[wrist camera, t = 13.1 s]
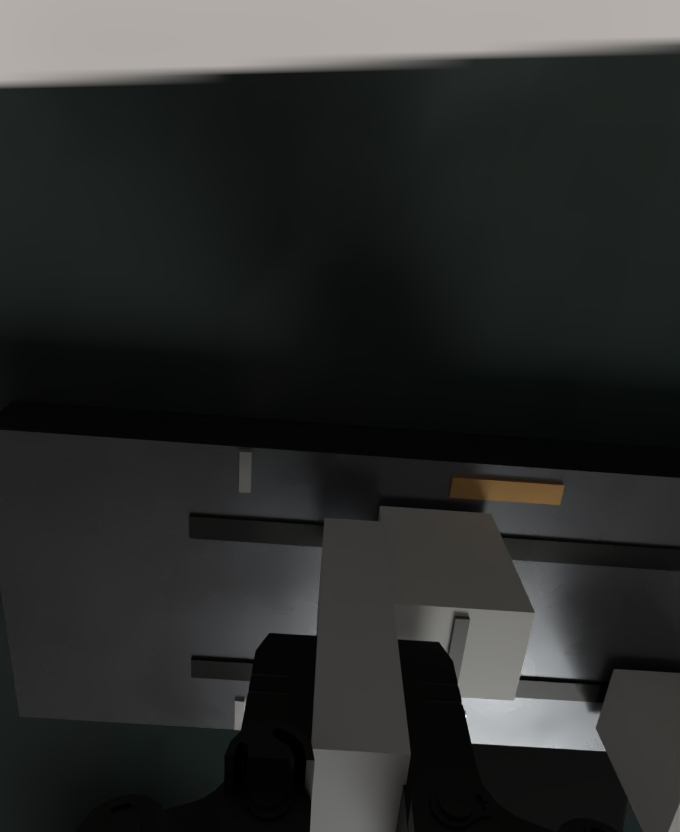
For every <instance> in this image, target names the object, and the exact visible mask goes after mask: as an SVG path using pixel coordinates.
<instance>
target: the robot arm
mask: <svg viewBox="0 0 680 832" xmlns="http://www.w3.org/2000/svg"><path fill="white" fill-rule="evenodd" d="M76 832H555V831H553V830H550V829H547V828H545V827H542V826H539V825H537V824H534V823H531V822H529V821H526V820H524V819H522V818H520V817H518V816H516V815H513V814H511V813H510V812H509V811H507V810H506V809H505V808H503V807H502V806H500V805H499V804H498V803H497V802H496V801H495V800H494V799H493V798H492V796H491V794H490V793H489V792H488V791H487V789H486V788H485V787H484V785H483V783H482V781H481V779H480V776H479V773H478V770H477V765H476V761H475V757H474V752H473V748H472V743H471V739H470V734H469V730H468V725H467V721H466V716H465V712H464V708H463V705H462V699H461V694H460V690H459V687H458V681H457V676H456V672H455V668H454V663H453V660H452V659H451V658H450V656H449V655H448V653H447V652H446V651H445V649H444V648H443V647H442V645H441V644H440V643H439V642H434V641H418V640H402V639H397V631H396V622H395V613H394V605H393V596H392V587H391V579H390V570H389V562H388V553H387V544H386V536H385V527H384V522H379V521H364V520H350V519H335V518H324V530H323V544H322V557H321V571H320V584H319V598H318V612H317V629H316V636H313V635H297V634H281V633H269V634H268V635H267V636H266V638H265V639H264V640H263V641H262V643H261V644H260V645H259V647H258V648H257V649H256V651H255V657H254V662H253V668H252V675H251V678H250V684H249V690H248V695H247V700H246V706H245V711H244V716H243V722H242V727H241V731H240V732H239V733H238V734H237V735H236V736H235V737H234V738H233V739H232V740H231V742H230V744H229V747H228V749H227V751H226V753H225V779H224V782H223V783H222V784H221V785H220V786H219V787H218V788H217V789H216V790H215V791H213V792H212V793H210V794H209V795H207V796H206V797H204V798H202V799H199V800H197V801H194V802H191V803H188V804H184V805H180V806H177V807H173V808H169V809H166V810H164V809H163V808H162V806H161V805H160V803H158V802H156V801H154V800H153V799H151V798H149V797H147V796H141V795H131V794H129V795H125V796H121V797H117V798H113V799H110V800H109V801H107V802H105V803H104V804H102V805H100V806H99V807H97V808H96V809H94V810H93V811H92V812H91V813H90V814H89V815H88V817H87V818H86V819H85V820H84V821H83V822H82V823H81V824H80V826H79V827H78V829H77V830H76ZM557 832H618V831H616V830H615V829H614V828H612V827H611V826H609V825H607V824H604V823H602V822H599V821H596V820H594V819H591V818H574V819H572V820H570V821H567V822H565V823H563V824H561V826H560V827H559V829H558V831H557Z"/></svg>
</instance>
